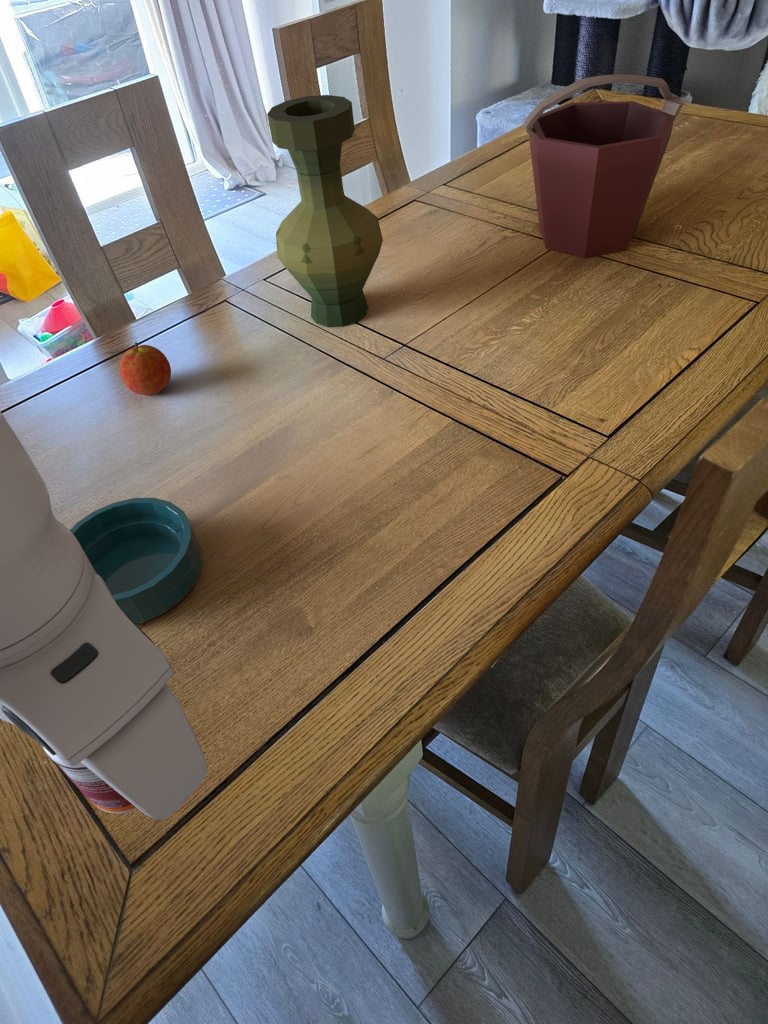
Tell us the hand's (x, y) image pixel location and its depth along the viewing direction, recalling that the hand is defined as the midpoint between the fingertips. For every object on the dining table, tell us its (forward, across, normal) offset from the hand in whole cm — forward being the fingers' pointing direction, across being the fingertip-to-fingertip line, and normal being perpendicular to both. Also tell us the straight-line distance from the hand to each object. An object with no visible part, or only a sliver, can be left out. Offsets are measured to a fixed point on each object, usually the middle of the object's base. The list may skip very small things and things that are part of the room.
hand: (112, 745), depth 46 cm
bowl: (+15, -25, +16) cm, 33 cm away
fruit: (+14, -52, +40) cm, 67 cm away
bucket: (+13, -19, +113) cm, 115 cm away
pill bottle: (+4, 0, 0) cm, 4 cm away
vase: (+14, -42, +71) cm, 83 cm away
